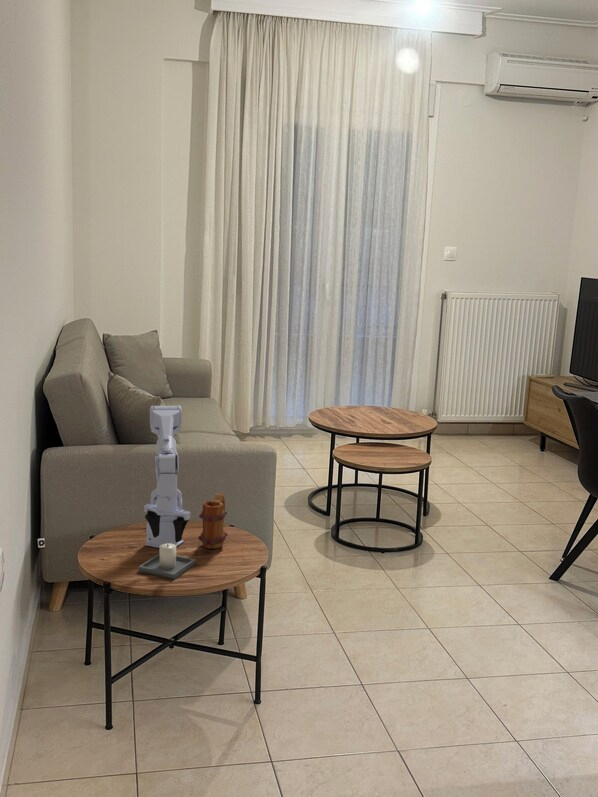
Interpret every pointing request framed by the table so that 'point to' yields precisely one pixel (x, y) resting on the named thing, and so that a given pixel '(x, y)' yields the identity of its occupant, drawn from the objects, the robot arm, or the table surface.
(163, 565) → the candle
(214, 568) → the table surface
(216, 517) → the mug
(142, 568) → the tray
